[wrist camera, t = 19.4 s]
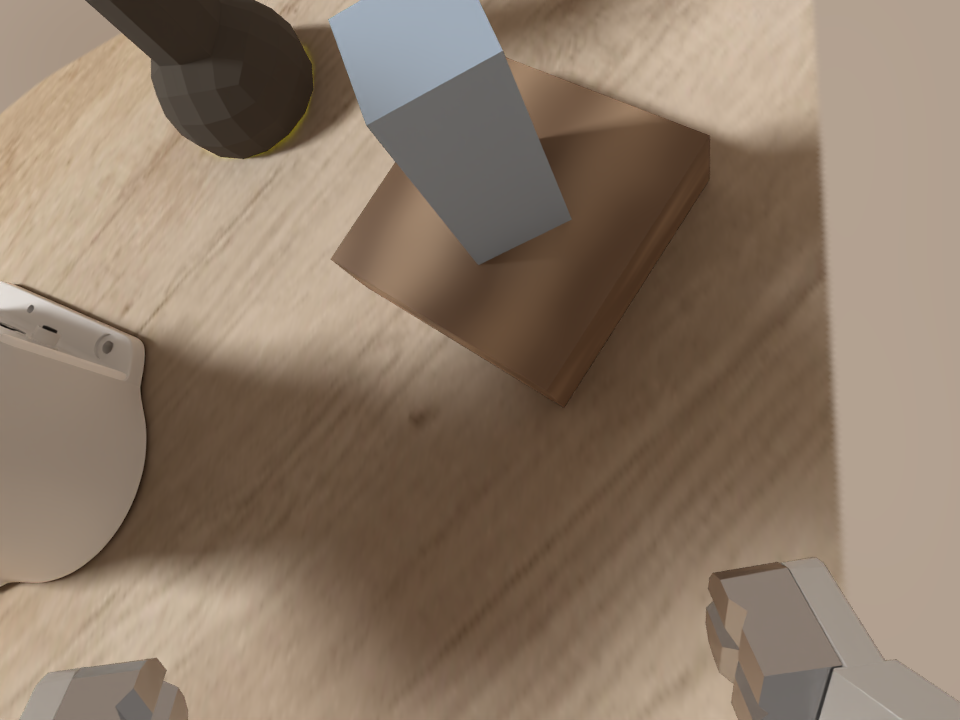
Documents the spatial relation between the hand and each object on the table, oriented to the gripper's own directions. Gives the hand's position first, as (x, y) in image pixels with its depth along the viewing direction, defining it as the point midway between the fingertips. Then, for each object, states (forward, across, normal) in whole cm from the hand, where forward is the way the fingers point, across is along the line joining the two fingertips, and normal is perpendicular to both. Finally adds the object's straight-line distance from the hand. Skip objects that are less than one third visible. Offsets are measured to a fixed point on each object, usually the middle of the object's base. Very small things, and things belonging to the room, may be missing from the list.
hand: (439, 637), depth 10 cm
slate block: (+26, -4, +4) cm, 27 cm away
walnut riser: (+29, -5, +7) cm, 30 cm away
